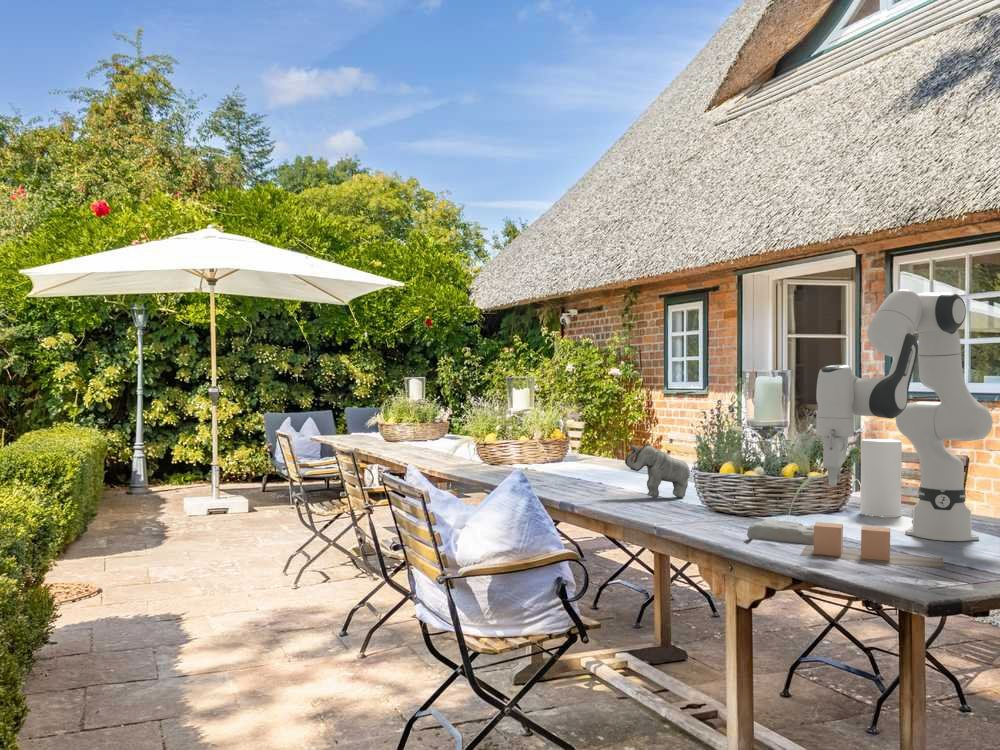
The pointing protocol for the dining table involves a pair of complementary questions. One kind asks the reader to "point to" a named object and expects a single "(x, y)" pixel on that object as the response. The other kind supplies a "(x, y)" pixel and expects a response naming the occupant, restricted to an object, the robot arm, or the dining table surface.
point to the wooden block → (875, 543)
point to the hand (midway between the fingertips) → (834, 483)
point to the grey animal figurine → (660, 469)
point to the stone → (781, 531)
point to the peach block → (828, 538)
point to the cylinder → (881, 477)
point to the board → (894, 559)
